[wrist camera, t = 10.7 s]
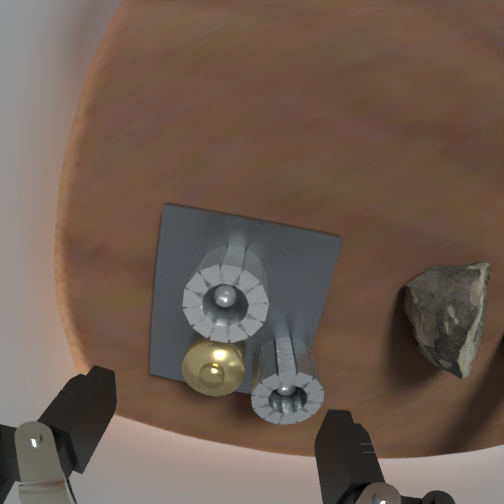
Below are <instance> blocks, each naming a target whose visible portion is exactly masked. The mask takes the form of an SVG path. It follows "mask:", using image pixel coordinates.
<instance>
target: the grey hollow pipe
mask: <svg viewBox="0 0 504 504" xmlns="http://www.w3.org/2000/svg"><path fill="white" fill-rule="evenodd" d="M275 341H276V343H275V342H274V340H271V341H269V342H268V343H266V344H264V345H262V346H261V349H260V348H259V349H258V350H257V352H256V354H255V356H254V357H253V361H252V384H251V400H252V408H253V410H254V411H255V412H256V413H257V414H258V415H259V416H260V417H261V418H262V419H263V418H264V420H266V421H269V422H272V423H275V424H279V422H281V425H282V424H294V423H296V420H297V421H298V422H301V421H303V420H305V419H307V418H309V417H311V416H312V414H315V413H316V412H317V410H318V409H319V408H320V407H321V405H322V402H323V398H324V389H323V385H322V382H321V378H320V374H319V371H318V367H317V363H316V360H315V356H314V354H313V352H312V351H311V349H310V348H309V347H308V345H305V343H304V342H301V341H299V340H296V339H294V338H292V340H291V341H290V338H278V339H275ZM285 385H295V386H296V389H295V391H294V392H293V393H292V394H290V395H282V394H280V393H279V392H278V391H277V388H279V387H281V386H285Z"/></svg>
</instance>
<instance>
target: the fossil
mask: <svg viewBox="0 0 504 504" xmlns="http://www.w3.org/2000/svg"><path fill="white" fill-rule="evenodd" d="M489 272H490V267H489V263H485V262H479V263H474V264H471V265H464V266H432V267H430V268H429V269H428V270H427V271H424V272H422V273H421V274H420V275H419V276H417V277H416V278H414V279H413V280H411V281H410V282H409V283H407V284H406V285H405V287H404V289H405V297H404V305H403V306H404V310H405V312H406V315H407V317H408V318H409V320H410V322H411V324H412V325H413V327H414V329H413V330H412V332H413V334H414V336H415V338H416V340H417V342H418V343H417V345H416V347H417V350H418V353H419V354H420V355H421V357H423V358H425V360H426V361H427V362H429V363H431V364H433V365H435V366H437V367H439V368H441V369H443V370H446V371H448V372H450V373H452V374H454V375H456V376H457V377H459V378H461V379H463V378H464V377H467V376H468V375H469V374H470V373H471V366H472V364H473V362H474V361H475V357H476V355H477V352H478V348H479V345H480V340H481V338H482V333H483V327H484V325H483V323H484V317H485V312H486V298H487V285H488V283H489Z"/></svg>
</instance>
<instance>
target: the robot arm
mask: <svg viewBox="0 0 504 504" xmlns="http://www.w3.org/2000/svg"><path fill="white" fill-rule="evenodd" d="M503 352H504V344H503ZM116 404H117V398H116V385H115V373H114V371H113V370H109V369H106V368H103V367H100V366H96V365H95V366H93V367H92V369H91V370H90V371H89V372H88V374H87V375H86V376H85V375H83V374H79V375H77V376H75V377H73V378H72V379H70V380H69V381H68V382H67V383H66V385H65V386H64V387H63V390H61V391H60V392H59V394H58V396H57V397H55V399H54V400H53V401H52V402H51V404H50V405H49V406H48V408H47V409H46V410H45V411H44V413H43V414H42V416H41V417H40V418H39V419H38V420H37V422H36V421H31V422H25V423H23V424H21V425H20V426H19V427H18V428H15V427H10V426H5V425H1V424H0V504H3V503H4V501H5V499H6V497H7V495H8V493H9V491H10V490H11V488H12V486H13V484H14V482H15V481H18V482H21V485H19V487H18V489H19V496H20V501H21V504H78V503H77V500H76V497H75V494H74V492H73V488H72V485H71V483H70V479H69V476H70V475H71V473H72V471H76V472H78V473H81V474H83V472H84V470H85V468H86V466H87V464H88V462H89V460H90V458H91V456H92V454H93V453H94V451H95V449H96V447H97V445H98V443H99V441H100V439H101V437H102V436H103V434H104V432H105V430H106V428H107V426H108V424H109V422H110V420H111V418H112V417H113V415H114V413H115V409H116ZM371 443H372V442H371V440H370V437H369V434H368V432H367V431H366V430H365V429H364V428H363V426H362V425H361V424H354V422H353V419H352V416H351V413H350V411H348V410H328V412H327V414H326V416H325V418H324V421H323V423H322V425H321V427H320V430H319V432H318V434H317V436H316V440H315V456H316V462H317V467H318V474H319V481H320V487H321V493H322V500H323V504H455V502H454V500H453V498H452V497H451V496H450V495H449V494H447V493H445V492H443V491H431V492H429V493H427V494H426V495H425V496H424V497H423V498H422V499H421V498H413V497H405V496H401V495H400V494H399V492H398V491H397V489H396V488H394V487H393V486H391V485H389V484H387V483H385V480H384V477H383V474H382V472H381V468H380V465H379V463H378V460H377V457H376V454H375V453H374V448H373V445H371Z"/></svg>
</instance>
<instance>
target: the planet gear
mask: <svg viewBox="0 0 504 504" xmlns="http://www.w3.org/2000/svg"><path fill="white" fill-rule="evenodd" d="M244 250H245V248H243V247H237V246H232V245H229V246H228V249H227V247H226V245H225V246H222V247H219V248H216V249H213V250H211V251H210V253H209V252H208V253H207V254H206V256H205V257H204V258H203V259H202V260H201V262H200V263H199V264H198V266H197V268H196V269H195V271H194V273H193V274H192V276H191V278H190V279H189V281H188V283H187V285H186V287H185V289H184V296H183V305H182V306H183V307H184V308H183V311H184V313H185V315H186V317H187V319H188V322H189V324H190V325H193V324H194V325H193V327H192V328H193V329H195V330H196V331H197V332H199V333H200V334H201V335H203V336H204V337H205V338H208V337H209V336H210V335H211V336H210V340H213V341H218V342H223V343H228V340H229V339H230V342H231V343H233V342H237V341H240V340H244V339H247V338H248V336H249V335H250V336H252V335H253V334H254V333H255V332H256V331H257V330H258V329H259V328H260V327H261V326H262V325H263V321H264V322H265V319H266V315H267V310H268V306H269V301H268V288H267V276H266V273H265V270H264V267H263V265H262V262H260V259H259V258H258V257H256V256H255V255H254V254H253V253H251V252H250V251H249V250H248V249H247V250H246V251H245V253H244ZM222 283H223V284H228V285H234V286H236V287H237V288H238V289H240V290H241V291H242V292H243V293H244V294H243V295H241V296H237V297H236V300H235V302H234V304H233V305H231V306H229V307H222V306H220V305H218V304H217V303H216V301H215V299H214V294H215V291H216V290H215V288H214V286H216V285H219V284H222Z"/></svg>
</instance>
